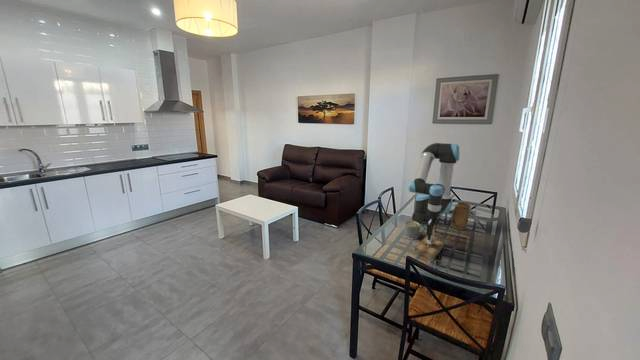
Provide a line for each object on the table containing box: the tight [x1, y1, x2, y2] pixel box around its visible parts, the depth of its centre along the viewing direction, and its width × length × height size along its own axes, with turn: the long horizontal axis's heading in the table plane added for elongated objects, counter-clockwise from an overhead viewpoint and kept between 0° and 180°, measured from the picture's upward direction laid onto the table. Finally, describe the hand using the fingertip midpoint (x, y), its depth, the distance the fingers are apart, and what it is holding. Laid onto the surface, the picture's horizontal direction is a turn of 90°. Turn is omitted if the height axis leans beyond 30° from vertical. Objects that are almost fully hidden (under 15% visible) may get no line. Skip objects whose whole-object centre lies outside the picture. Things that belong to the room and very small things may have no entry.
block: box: [450, 202, 471, 231], centre depth 196 cm, size 11×8×20 cm
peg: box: [427, 224, 436, 248], centre depth 167 cm, size 4×4×18 cm
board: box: [414, 236, 444, 261], centre depth 169 cm, size 12×18×4 cm, turn 138°
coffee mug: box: [403, 220, 425, 240], centre depth 186 cm, size 13×10×10 cm
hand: (430, 242), depth 168 cm, fingers closed on peg, 4 cm apart
